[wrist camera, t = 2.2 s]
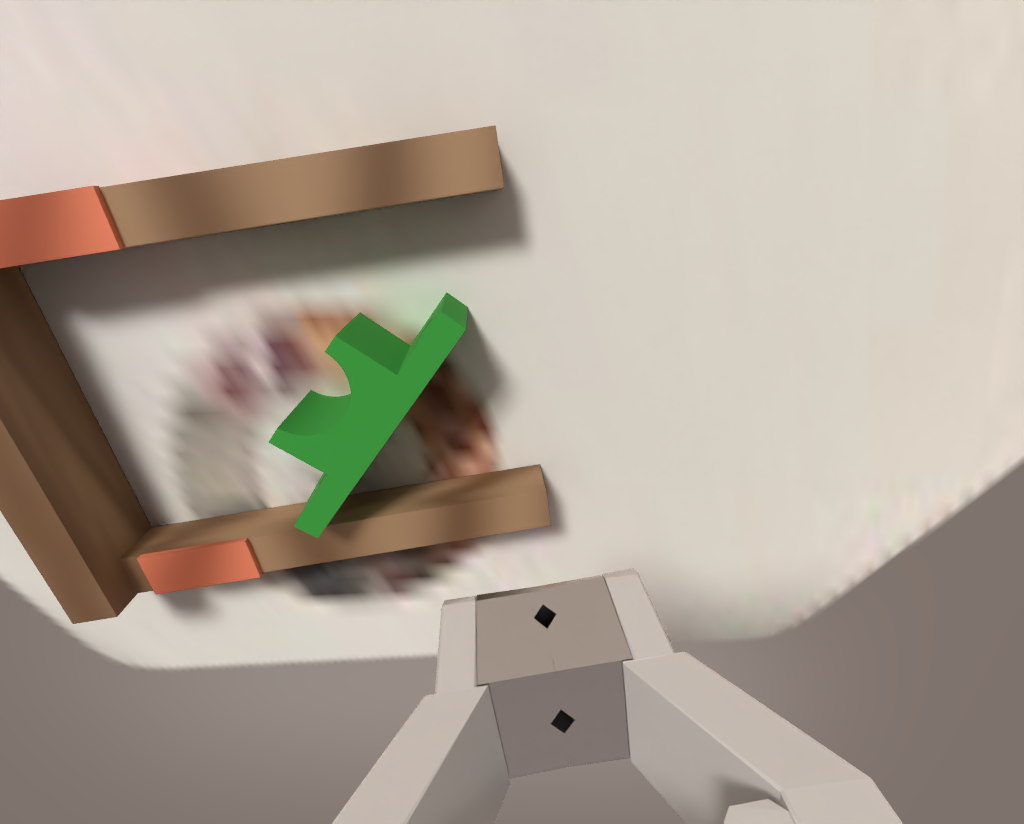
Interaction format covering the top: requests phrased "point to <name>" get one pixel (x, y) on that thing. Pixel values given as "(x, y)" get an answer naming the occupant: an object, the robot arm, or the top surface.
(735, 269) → the top surface
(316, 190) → the guide channel
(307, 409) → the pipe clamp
